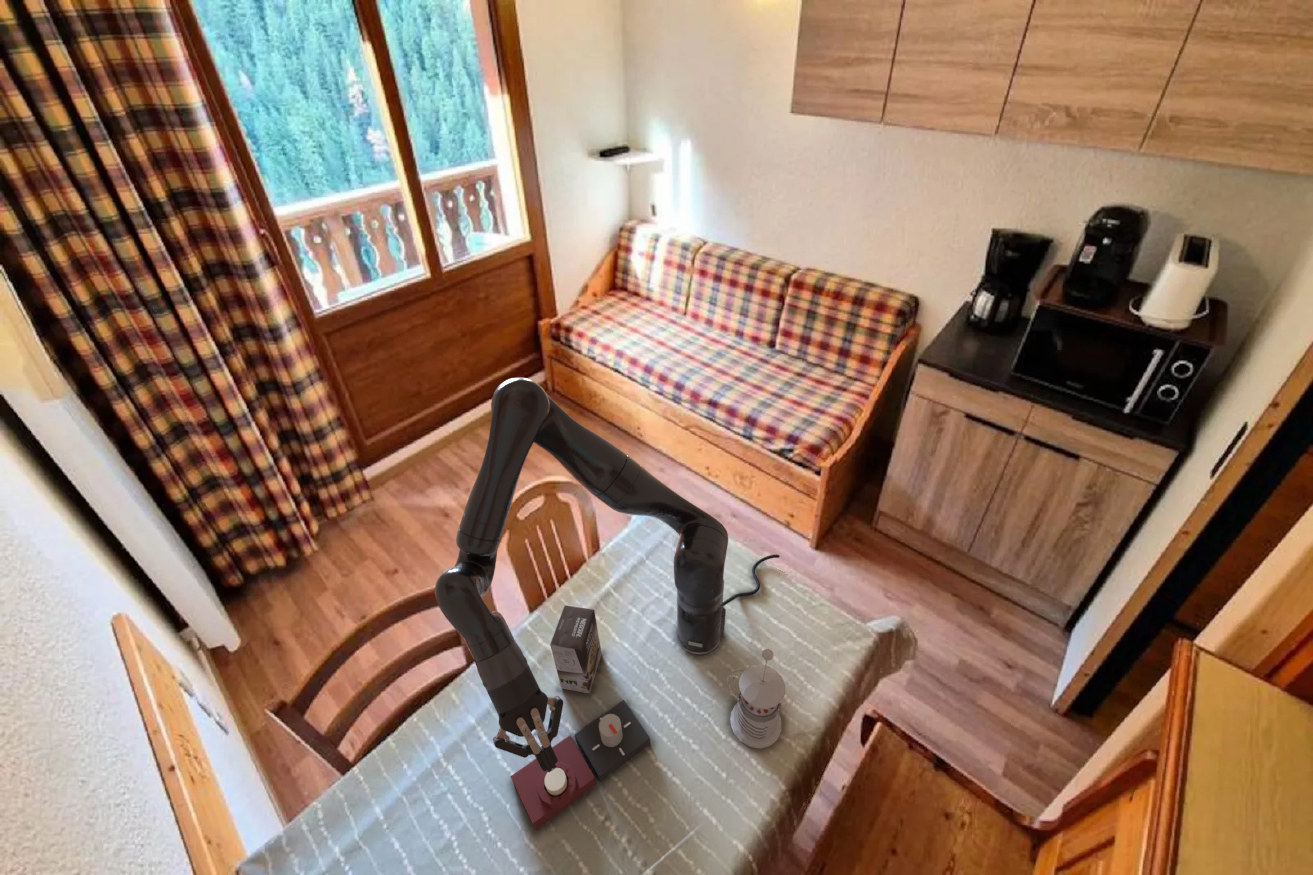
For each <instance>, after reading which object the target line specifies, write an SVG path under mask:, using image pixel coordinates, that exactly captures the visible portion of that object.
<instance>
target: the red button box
mask: <svg viewBox="0 0 1313 875" xmlns="http://www.w3.org/2000/svg"><path fill="white" fill-rule="evenodd" d="M577 745H578V744H576V742H575V740H574V739H573V737H572V735H571V734H569V735H568V736H566V737H565V738H563V739H562V740H560V741H559V742H558V743H556V744H555V745H553V746H552V749H553V751H554V753H555V755H556V757H557V760H558V762H557V763H556V764H555V765H556V768H560V769H562V770H563V771H564V772H565V775H566V778H567V787H566V789H565V790H564V792H563V793H561V794H560V795H551V794H550V793H549V792H548V791H547V789H546V786H545V776H546V774H547V773H548V771H547V770H546V771H545V772H544V771H543V770H542V769H541V767H540V765H539V763H538V761H537V759H536V758H535V759H533V760H532V761H530V762H529V763H528V764H526V765H524V766H523V767H521V768H520V769H518V770H517V771H516V772H515V773H513V774H512V775H510V779H511V781H512V783H513V785H514V787H515V789H516V792H517V793H518V796H519V798H520V800H521V802H522V805H523V806H524V808H525V811H526V813H527V815H528V817H529V819H530V821H531V823H532V826H533V828H534V829H535V831H537V830H538V829H540V828H541V827H543V826H544V825H546V823H548V822H549V821H551V820H552V819H554V817H556V816H557V815H559V814H560V813H561V812H562V811H564V810H565V809H566V808H568V807H569V806H570V805H572V804H573V803H574V802H576V801H577V800H578V799H580V798H581V797H582V796H584V795H585V794H586V793H587V792H589V791H590V790H592V789H593V788H594V787H596V786H597V785H598V784H597V780H596V777H595V775H594V772H592V770H591V768H590V767H589V764H588V763H587V761H586V758H584V755H583V754H582V753H581V752H582V751H581V750H580V749H579V747H578V746H577Z"/></svg>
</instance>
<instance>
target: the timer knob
mask: <svg viewBox="0 0 1313 875" xmlns="http://www.w3.org/2000/svg"><path fill="white" fill-rule="evenodd" d="M599 730H600V735H601V740H602V742H603V744H604V745H606V746H608V747H615V746H617V745H618V744H619V743H620V742H621V740H622V737H623V734H622V727H621V721H620V719H619V718H618V717H617V716H616V715H614V714H608V715H605V716H604V717H603V718H602V719H601V720H600V723H599Z"/></svg>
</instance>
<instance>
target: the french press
mask: <svg viewBox="0 0 1313 875" xmlns="http://www.w3.org/2000/svg"><path fill="white" fill-rule="evenodd" d="M761 657H762V659H763V660H764V661H765V664H760V663H759V664H753V665H749V666H748V667H746V669H742V668H735V669H733V671H732V674H731V675H729V676H728V677H727V679H726V683H727V686H728V689H729V691H730V692H731V694H732V695H733V696H734V698H736V699H737V703H735V704H734V706H733V708H732V710H731V711H730V719H729V720H730V726H731V729H732V732H733V734H734V735H735V737H736V738H737V739H738V740H739V742H741V743H742V744H744V745H746V746H747V747H749V748H755V749H764V748H768V747H770V746H772V745H773V744H774V743H775V742H776V741H777V740H779V738H780V735H781V732H782V718H781V715H780V711H781V704H782V701H783V699H784V697H785V696H786V683H785V681H784V679H783V677H782V675H781V674H780V673H779V672H778V671H777V670H776V669H775V668H773V667H771V666H769V665H767V664H768V662H769V661H772V660H773V658H774V652H773V650H772V649H770V648H765V649H763V650H762V652H761ZM737 671H740V672H742V673H741V675H740V676H737V675H735V673H736V672H737ZM730 678H732V679H733V682H734V684H735V685H736V687H737V688H738V689H739V693H738V695H736V693H735V692H734V691H733V689H732V688H731V686H730V682H729V681H730ZM736 679H738V680H739V681H738V682H736ZM738 683H739V684H738Z"/></svg>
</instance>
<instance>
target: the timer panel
mask: <svg viewBox="0 0 1313 875" xmlns="http://www.w3.org/2000/svg"><path fill="white" fill-rule="evenodd" d="M608 714H614V715H616V716H617V717H618V718H619V719H620V721H621V727H622V734H623V737H622V740H621V742H620V743H619V744H618V745H617V746H615V747H608V746H606V745H604V744H603V742H602V740H601V735H600V730H599V723H600V720H601V719H602V718H603V717H604V716H605V715H608ZM573 735H574V738H575V741H576V742H577V745H578V746H579V748H580V751H581V752H582V753H583V756H584V757H585V759H586V760H587V762H588V763H589V764H588V765H590V767H591V769H592V770H593V773H594V774H595V776H596V777H597V779H598V781H599V782H602V781H604V780H605V779H606V778H608V777H609V776H610V775H611V774H613V773H614V772H615V771H617V770H618V769H619V768H621V767H622V766H623V765H625V764H626V763H628V762H629V761H630V760H631V759H633V758H634V757H635V756H636V755H638V754H639V753H640V752H642V751H644V750H645V749H646V748H648V747H649V746H650V745H651V738H650V736H649V735H648V733H647V732H646V730H645V729H644V727H643V726H642V724H641V723H640V722H639V720H638V718H637V717H636V715H635V714H634V712H633V711H632V710H631V708H630V707H629V705H628V704H627V702H626V701H625V700H624V699H623V700H621V701H619V702H618V703H617V704H615V705H614V706H613V707H611V708H610V709H608V710H606V711H605V712H604V713H602V714H601V715H599V716H598V717H597V718H595V719H594V720H592V721H591V722H589V723H588V724H587V725H585V726H584V727H582V728H580V729H579V730H578V731H576V732H575V733H574V734H573Z"/></svg>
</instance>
